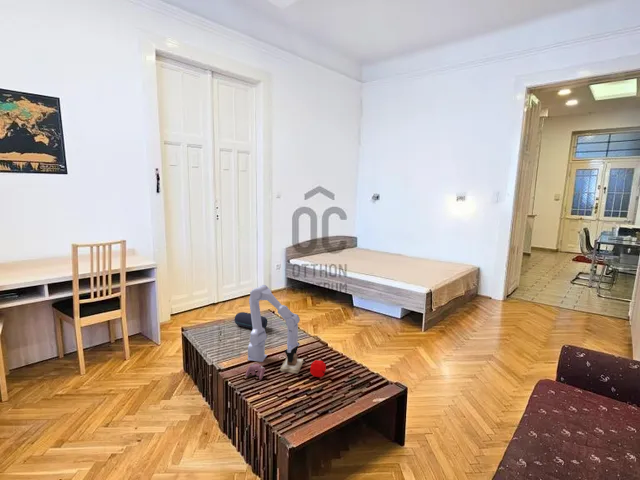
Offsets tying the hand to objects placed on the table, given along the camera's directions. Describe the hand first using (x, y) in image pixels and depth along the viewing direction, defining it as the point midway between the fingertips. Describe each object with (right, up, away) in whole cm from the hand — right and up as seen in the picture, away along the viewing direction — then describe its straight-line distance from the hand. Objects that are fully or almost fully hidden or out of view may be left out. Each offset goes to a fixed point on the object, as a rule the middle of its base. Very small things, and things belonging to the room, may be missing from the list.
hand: (292, 358), depth 192 cm
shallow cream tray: (0, -5, +1) cm, 5 cm away
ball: (+15, -7, -7) cm, 18 cm away
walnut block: (0, -3, 0) cm, 3 cm away
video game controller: (-19, -6, -9) cm, 22 cm away
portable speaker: (-34, +4, +52) cm, 62 cm away
